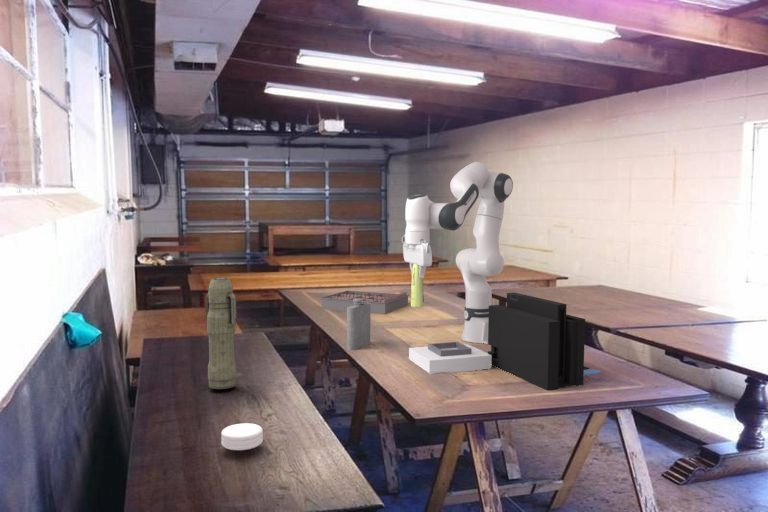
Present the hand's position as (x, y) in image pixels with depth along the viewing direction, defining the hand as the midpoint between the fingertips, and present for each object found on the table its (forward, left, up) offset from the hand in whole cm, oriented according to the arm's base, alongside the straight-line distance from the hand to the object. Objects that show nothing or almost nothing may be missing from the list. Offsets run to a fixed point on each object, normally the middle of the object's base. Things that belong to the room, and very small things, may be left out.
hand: (417, 276), depth 231 cm
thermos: (+71, +7, -33) cm, 78 cm away
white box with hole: (-10, +6, -32) cm, 35 cm away
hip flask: (+14, -32, -33) cm, 48 cm away
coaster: (+70, +59, -33) cm, 97 cm away
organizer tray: (-15, -117, -33) cm, 122 cm away
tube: (0, 0, -11) cm, 11 cm away
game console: (-41, +25, -33) cm, 58 cm away
